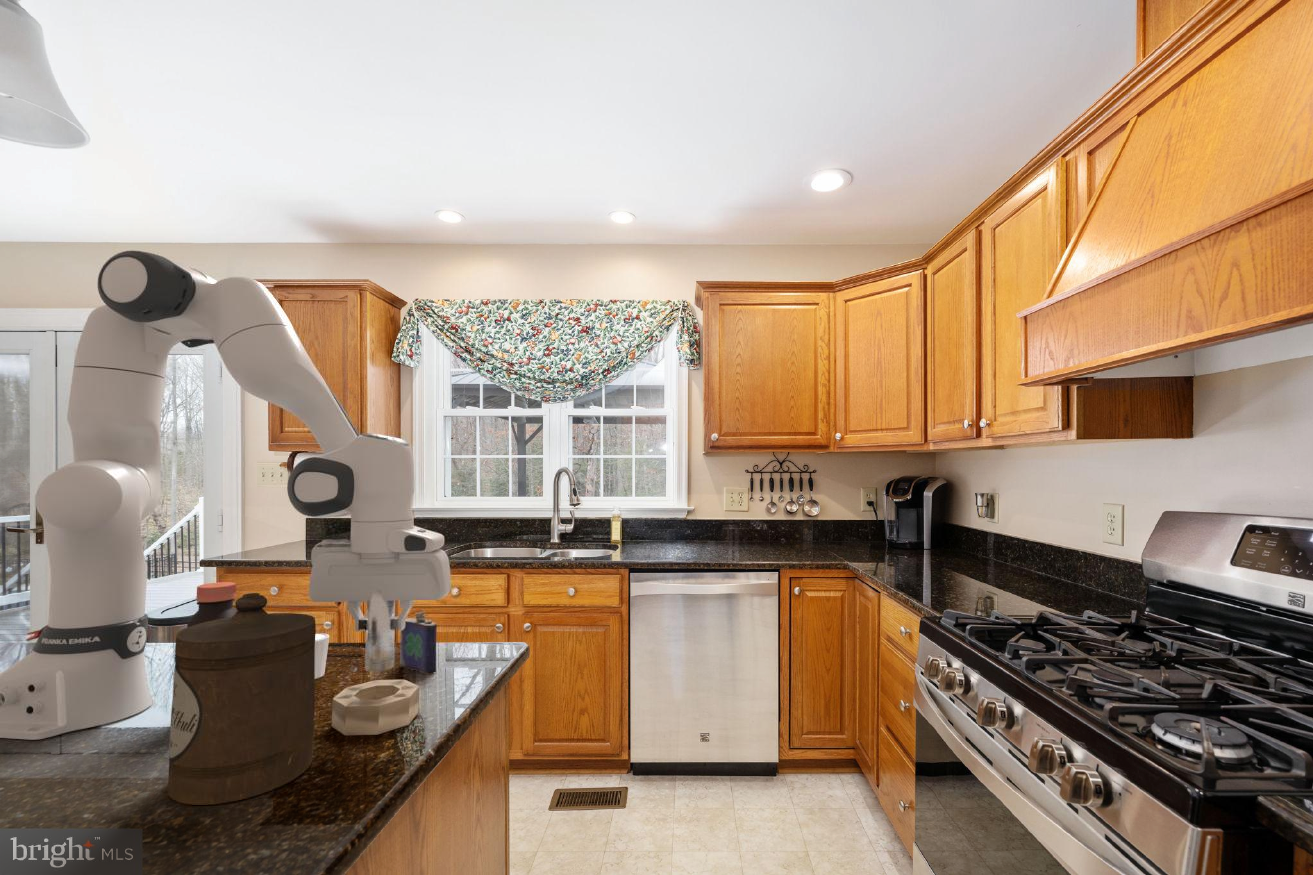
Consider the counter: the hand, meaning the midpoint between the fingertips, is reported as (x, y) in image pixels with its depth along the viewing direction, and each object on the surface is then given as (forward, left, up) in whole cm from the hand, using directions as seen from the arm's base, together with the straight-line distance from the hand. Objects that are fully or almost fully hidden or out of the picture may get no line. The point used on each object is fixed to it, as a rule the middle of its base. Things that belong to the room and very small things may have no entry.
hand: (380, 629), depth 92 cm
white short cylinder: (-20, +21, -14) cm, 32 cm away
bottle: (-25, +2, -14) cm, 29 cm away
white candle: (0, 0, -6) cm, 6 cm away
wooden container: (-10, -16, -14) cm, 23 cm away
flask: (-1, +24, -14) cm, 28 cm away
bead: (0, 0, -13) cm, 13 cm away
